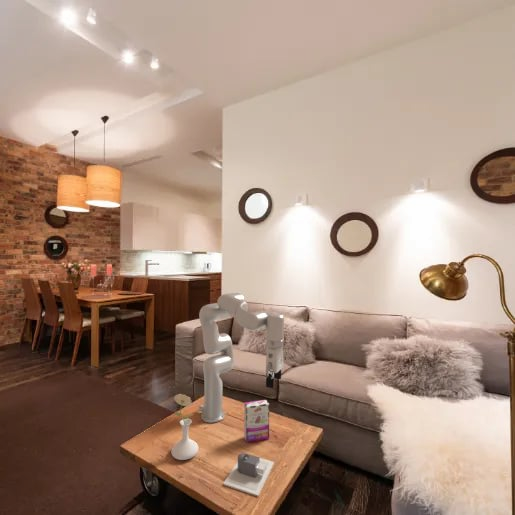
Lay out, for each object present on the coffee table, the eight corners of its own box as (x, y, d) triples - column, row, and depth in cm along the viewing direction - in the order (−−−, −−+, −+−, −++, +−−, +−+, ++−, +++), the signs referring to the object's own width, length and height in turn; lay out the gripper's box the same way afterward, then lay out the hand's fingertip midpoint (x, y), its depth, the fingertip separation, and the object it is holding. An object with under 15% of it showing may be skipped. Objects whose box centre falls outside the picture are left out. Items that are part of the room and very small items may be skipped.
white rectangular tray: (223, 484, 107) (223, 483, 107) (243, 454, 124) (243, 453, 124) (258, 496, 102) (258, 494, 102) (274, 463, 119) (274, 461, 119)
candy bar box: (266, 433, 140) (266, 399, 140) (269, 439, 135) (269, 404, 135) (243, 436, 137) (244, 401, 137) (246, 443, 132) (246, 407, 132)
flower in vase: (204, 451, 126) (205, 394, 126) (184, 467, 116) (185, 404, 116) (183, 440, 133) (184, 386, 133) (163, 454, 123) (164, 396, 123)
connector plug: (235, 471, 113) (235, 459, 113) (240, 464, 117) (240, 452, 117) (262, 480, 109) (262, 467, 109) (266, 472, 113) (266, 459, 113)
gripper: (276, 350, 115) (275, 393, 115) (288, 339, 130) (288, 376, 131) (258, 347, 117) (257, 389, 118) (273, 337, 133) (272, 373, 133)
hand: (273, 382), depth 124 cm, fingers open, 9 cm apart
